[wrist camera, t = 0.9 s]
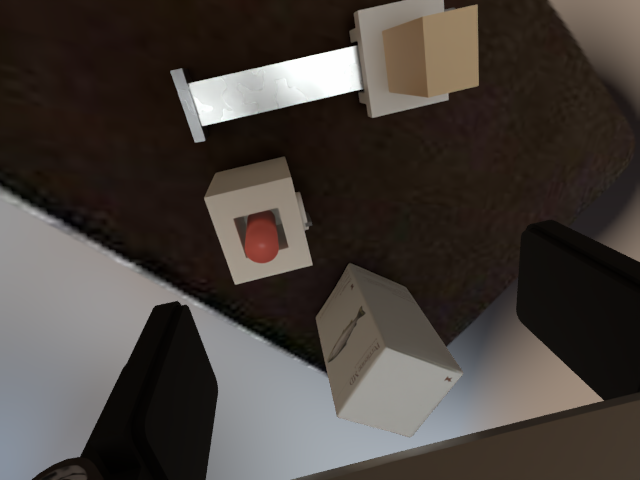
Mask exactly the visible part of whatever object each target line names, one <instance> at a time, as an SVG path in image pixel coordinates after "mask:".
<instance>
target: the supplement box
mask: <svg viewBox="0 0 640 480" xmlns="http://www.w3.org/2000/svg"><path fill="white" fill-rule="evenodd" d="M316 322H317V327H318V332H319V336H320V341H321V345H322V350H323V355H324V359H325V364H326V369H327V373H328V378H329V382H330V387H331V390H332V396H333V401H334V404H335V409H336V414H337V417H338V418H342V419H346V420H349V421H353V422H356V423H360V424H364V425H367V426H371V427H375V428H379V429H382V430H386V431H390V432H393V433H396V434H400V435H403V436H407V437H412V436H413V435H414V434H415V432H416V431H417V430H418V429H419V427H420V426H421V425H422V424H423V422H424V421H425V420H426V419H427V418H428V416H429V415H430V414H431V413H432V411H433V410H434V409H435V408H436V406H438V404H439V403H440V402H441V400H442V399H443V398H444V397H445V395H446V394H447V393H448V392H449V390H450V389H451V388H452V387H453V385H455V383H456V382H457V381H458V380H459V378H460V377H461V376H462V375H463V371H462V370H461V368H460V367H459V365H458V364H457V363H456V361H455V360H454V358H453V357H452V355H451V354H450V352H449V351H448V349H447V348H446V346H445V345H444V343H443V342H442V340H441V339H440V337H439V336H438V334H437V333H436V331H435V330H434V328H433V327H432V325H431V324H430V322H429V321H428V319H427V318H426V316H425V315H424V313H423V312H422V310H421V309H420V307H419V306H418V304H417V303H416V301H415V300H414V298H413V297H412V295H411V294H410V292H409V291H408V289H407V288H406V287H404V286H402V285H400V284H398V283H396V282H393V281H391V280H388V279H386V278H384V277H382V276H379V275H377V274H375V273H373V272H370V271H368V270H366V269H363V268H361V267H359V266H356V265H354V264H351V263H349V264H348V265H347V267H346V269H345V271H344V273H343V275H342V276H341V278H340V280H339V282H338V283H337V285H336V287H335V288H334V290H333V292H332V293H331V295H330V296H329V298H328V299H327V301H326V303H325V304H324V306H323V307H322V309H321V310H320V312H319V313H318V315H317V316H316Z"/></svg>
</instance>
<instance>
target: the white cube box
mask: <svg viewBox="0 0 640 480" xmlns="http://www.w3.org/2000/svg"><path fill="white" fill-rule="evenodd" d="M204 199H205V202H206V205H207V208H208V210H209V213H210V216H211V219H212V222H213V224H214V227H215V230H216V233H217V235H218V238H219V241H220V244H221V247H222V249H223V252H224V255H225V258H226V261H227V263H228V266H229V269H230V272H231V275H232V277H233V280H234V283H235V285H236V284H240V283H244V282H248V281H252V280H256V279H260V278H263V277H267V276H271V275H275V274H279V273H283V272H287V271H291V270H295V269H299V268H303V267H307V266H311V265H313V264H312V260H311V256H310V252H309V248H308V244H307V240H306V236H305V232H304V230H308V229H309V227H308V226H312V222H311V219H310V216H309V213H308V212H306V213H305V210H304V206H303V202H302V198H301V195H300V192H296V193H295V191H294V187H293V182H292V178H291V175H290V171H289V168H288V165H287V162H286V158H285V156H284V157H280V158H276V159H272V160H267V161H263V162H259V163H255V164H251V165H246V166H242V167H238V168H234V169H230V170H225V171H221V172H217V173H215V175H214V177H213V179H212V182H211V184H210V186H209V188H208V190H207V193H206V195H205V197H204ZM266 210H270V211H272V212H273V214H274V215H275V218H276V226H277V235H278V245H279V251H278V254H277V256H276V257H275V258H274V259H273V260H272V261H270V262H267V263H256V262H253V261H252V260H250V259H249V258H248V257H247V255H246V253H245V239H246V227H247V218H248V215H250V214H254V213H258V212H262V211H266Z"/></svg>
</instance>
